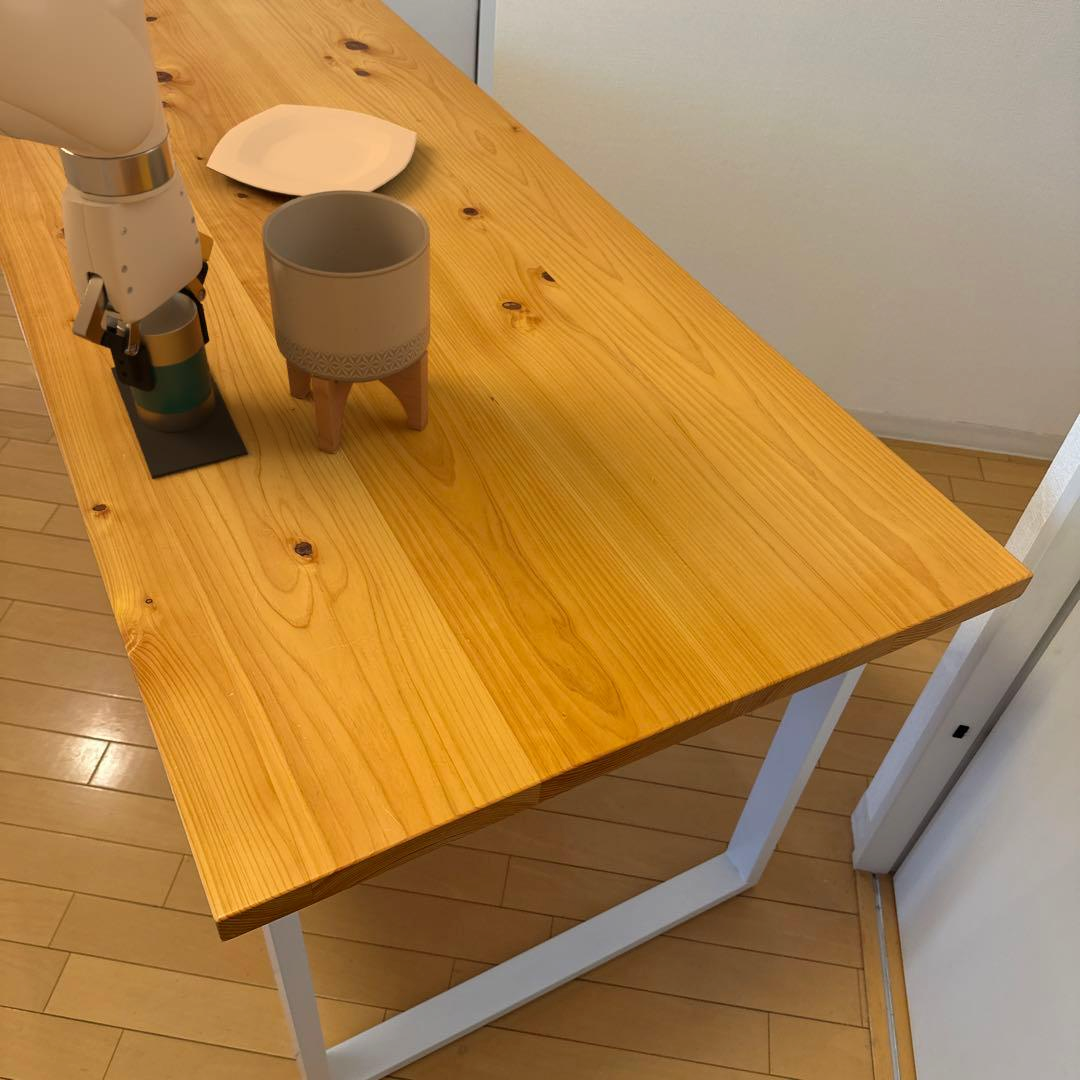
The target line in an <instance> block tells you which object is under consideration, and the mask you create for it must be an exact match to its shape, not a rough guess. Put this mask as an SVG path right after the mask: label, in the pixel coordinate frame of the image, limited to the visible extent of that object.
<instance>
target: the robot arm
mask: <svg viewBox="0 0 1080 1080" xmlns="http://www.w3.org/2000/svg"><path fill="white" fill-rule="evenodd" d="M150 38H151V37H150V33H149V28H148V22H147V17H146V12H145V6H144V3H143V0H0V136H3V137H8V138H11V139H16V140H24V141H28V142H33V143H37V144H42V145H47V146H49V147H51V146H52V147H55V148H57V149H58V153H59V157H60V160H61V164H62V168H63V171H64V174H65V175H64V176H65V178H66V181H67V185H68V186H67V187H66V188H65V189H64V190H62V191H61V214H62V224H63V225H62V227H63V233H64V240H65V245H66V252H67V258H68V261H69V262H68V263H69V267H70V270H71V276H72V280H73V284H74V287H75V291H76V295H77V298H78V301H79V303H80V305H79V308H78V311H77V314H76V317H75V319H74V322H73V324H72V329H71V330H72V334H73V335H75V336H77V337H79V338H81V339H83V340H86V341H88V342H90V343H93V344H95V345H97V346H100V347H104V348H106V349H109V351H110V354H111V358H112V361H113V365H114V367H115V368H116V372H117V375H118V379H119V381H120V382H121V383H123V384H126V385H129V386H131V387H134V388H137V389H140V390H143V391H146V392H151V391H152V390H153V389H154V388H155V383H154V379H153V375H152V371H151V367H150V363H149V359H148V355H147V352H146V350H145V349H143V348H140V347H139V345H140V334H141V323H142V318H144V317H145V316H147V315H148V314H149V313H151V312H152V311H154V310H155V309H156V308H158V307H159V306H160V305H162V304H163V303H164V302H165V301H167V300H168V299H169V298H171V297H172V296H173V295H174V294H176V293H177V292H179V293H182V294H184V295H186V296H188V297H190V298H191V299H192V300H193V301H194V302H195V304H196V306H197V311H198V316H199V321H200V326H201V331H202V336H203V340H204V345H205V346H206V345H207V344H208V343H209V342H210V335H209V330H208V325H207V319H206V313H205V309H204V304H203V301H205V299H206V297H207V290H206V288H205V287H204V284H205V281H206V277H207V276H208V271H209V263H208V262H209V261H210V257H211V253H212V250H213V246H214V238H213V237H212V236H209V235H208V234H206V233H204V232H201V231H199V228H198V225H197V221H196V217H195V216H196V215H195V211H194V209H193V206H192V202H191V199H190V196H189V193H188V189H187V187H186V184H185V181H184V179H183V176H182V173H181V172H180V168H179V167H178V164H177V163H176V161H175V160H174V156H173V150H172V146H171V145H172V144H171V141H170V140H171V139H170V135H169V134H170V131H171V130H170V126H169V123H168V122H167V121H166V114H165V110H164V105H163V99H162V95H161V88H160V84H159V79H158V74H157V69H156V63H155V59H154V58H155V57H154V53H153V47H152V43H151V39H150ZM118 320H120V321H123V322H124V323H126V325H125V336H124V337H122V336H120V335H117V324H118Z"/></svg>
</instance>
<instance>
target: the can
mask: <svg viewBox="0 0 1080 1080" xmlns="http://www.w3.org/2000/svg"><path fill="white" fill-rule="evenodd" d="M125 325H126V323H124V322H123V321H120V320H118V324H117V335H120V336H122V337H124V336H125ZM139 347H140V348H143V349H145V350H146V352H147V355H148V359H149V363H150V367H151V371H152V375H153V379H154V383H155V388H154V389H153V390H152V391H151V392H146V391H143V390H140V389H137V388H134V387H131V386H130V388H131V392H132V395H133V399H134V401H135V405H136V409H137V412H138V416H139V418H140V420H141V421H142V422H143V423H144V424H145V425H146V426H148V427H149V428H152V429H154V430H157V431H162V432H180V431H186V430H190V429H193V428H195V427H198V426H200V425H201V424H203V423H205V422H206V421H207V420H208V419H209V418H210V417H211V416H212V415H213V413H214V411H215V408H216V402H215V397H214V392H213V385H212V380H211V376H212V374H211V370H210V365H209V360H208V356H207V350H206V345H204V340H203V336H202V331H201V326H200V321H199V316H198V311H197V306H196V304H195V302H194V301H193V300H192V299H191V298H190V297H188V296H186V295H184V294H182V293H179V292H177V293H176V294H174V295H173V296H172V297H171V298H169V299H168V300H167V301H165V302H164V303H163V304H162V305H160V306H159V307H158V308H156V309H155V310H154V311H152V312H151V313H149V314H148V315H147V316H145V317H144V318H142V323H141V334H140V345H139ZM210 374H211V375H210Z"/></svg>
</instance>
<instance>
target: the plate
mask: <svg viewBox="0 0 1080 1080" xmlns="http://www.w3.org/2000/svg"><path fill="white" fill-rule="evenodd" d="M417 138H418V133H417V132H416V131H413V130H410V129H408V128H406V127H404V126H401V125H399V124H396V123H394V122H391V121H388V120H386V119H383V118H379V117H376V116H374V115H370V114H366V113H362V112H359V111H355V110H348V109H342V108H337V107H336V108H335V107H327V106H319V105H318V106H317V105H305V104H303V105H301V104H289V103H287V104H286V103H280V104H278V105H275V106H273V107H270V108H268V109H266V110H264V111H261V112H259V113H257V114H255V115H253V116H250V117H248V118H247V119H244V120H243V121H241V122H239V123H238V124H236V125H235V126H234V127H232V128H230V129H229V130H228V131H227V132H226V133H225V134H224V135H223V136H222V137H221V138H220V140H219V141H218V142H217V144H216V145H215V147H214V149H213V151H212V152H211V154H210V156H209V158H208V160H207V163H206V168H207V169H208V170H211V171H213V172H215V173H217V174H220V175H222V176H224V177H226V178H229V179H231V180H233V181H236V182H238V183H241V184H243V185H245V186H249V187H252V188H255V189H257V190H261V191H265V192H269V193H273V194H278V195H284V196H289V197H290V196H291V197H296V198H298V197H301V196H305V195H309V194H313V193H319V192H325V191H335V190H354V191H366V192H373V193H374V192H375V191H377V190H378V189H381V188H382V187H383V186H385V185H387V184H388V183H389V182H391V181H393V180H395V179H396V177H398V176H399V175H400V174H401V173H402V172H404V171H405V169H406V168H407V166H408V165H409V163H410V161H411V159H412V157H413V154H414V152H415V148H416V145H417Z"/></svg>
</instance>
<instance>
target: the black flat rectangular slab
mask: <svg viewBox="0 0 1080 1080" xmlns="http://www.w3.org/2000/svg"><path fill="white" fill-rule="evenodd" d="M110 370H111V373H112V374H113V378H114V381H115V383H116V386H117V388H118V391H119V395H120V397H121V399H122V401H123V405H124V407H125V410H126V412H127V415H128V418H129V421H130V423H131V426H132V429H133V431H134V433H135V436H136V439H137V442H138V445H139V448H140V450H141V453H142V455H143V458H144V460H145V462H146V466H147V468H148V472H149V473H150V476H151V479H152V480H154V479H158V478H161V477H165V476H169V475H173V474H178V473H180V472H184V471H188V470H192V469H197V468H200V467H204V466H208V465H211V464H215V463H216V464H217V463H220V462H223V461H224V462H225V461H227V460H231V459H235V458H239V457H243V456H245V455H249V451H248V449H247V447H246V445H245V443H244V440H243V439H242V436H241V435H240V432H239V431H238V429H237V426H236V424H235V422H234V420H233V418H232V415H231V414H230V411H229V409H228V407H227V405H226V403H225V401H224V398H223V397H222V395H221V392H220V390H219V388H218V386H217V383H216V382H215V381H214V377H213V375H212V373H210V375H211V380H212V385H213V392H214V397H215V402H216V408H215V411H214V413H213V415H212V416H211V417H210V418H209V419H208V420H207V421H206V422H205V423H203V424H201V425H200V426H198V427H195V428H193V429H190V430H186V431H180V432H162V431H157V430H154V429H152V428H149V427H148V426H146V425H145V424H144V423H143V422H142V421H141V420H140V418H139V416H138V412H137V409H136V405H135V401H134V399H133V395H132V392H131V388H130V386H129V385H126V384H123V383H121V382H120V381H119V379H118V375H117V372H116V368H115V366H112V367H110Z"/></svg>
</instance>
